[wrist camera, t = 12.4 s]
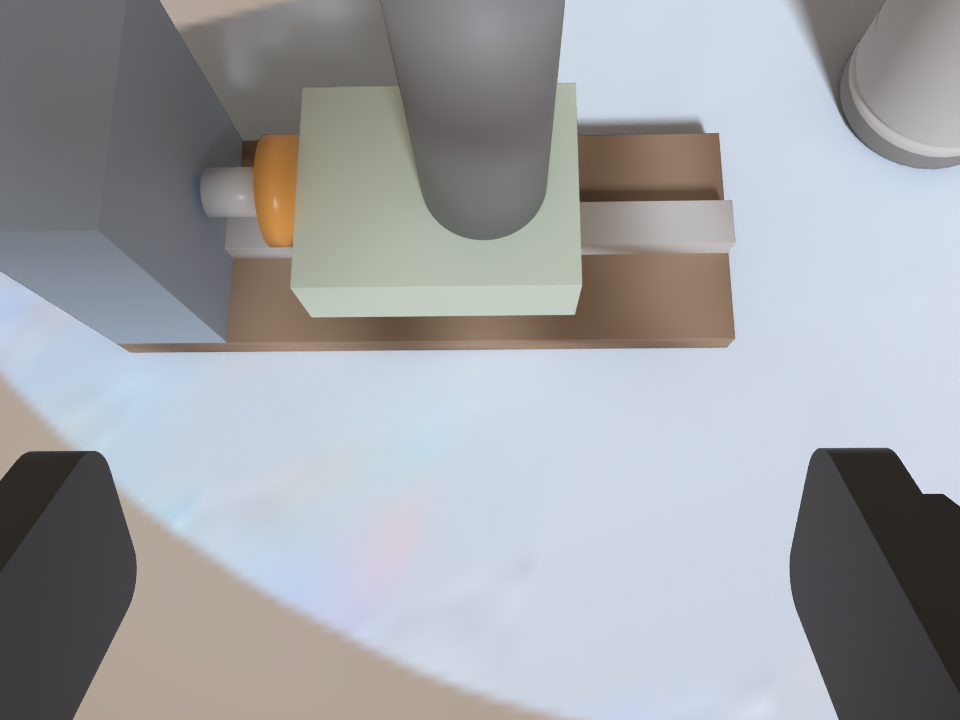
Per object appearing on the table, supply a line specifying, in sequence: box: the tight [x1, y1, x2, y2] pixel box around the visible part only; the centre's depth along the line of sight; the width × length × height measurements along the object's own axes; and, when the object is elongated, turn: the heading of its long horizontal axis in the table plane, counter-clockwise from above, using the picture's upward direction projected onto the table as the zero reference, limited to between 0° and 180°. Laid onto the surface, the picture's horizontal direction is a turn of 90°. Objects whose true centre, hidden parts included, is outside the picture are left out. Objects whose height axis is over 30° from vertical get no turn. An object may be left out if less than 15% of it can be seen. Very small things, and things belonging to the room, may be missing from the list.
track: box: [118, 133, 735, 353], centre depth 32 cm, size 22×8×2 cm, turn 90°
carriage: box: [290, 0, 582, 317], centre depth 24 cm, size 9×7×13 cm
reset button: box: [200, 134, 299, 248], centre depth 28 cm, size 3×4×4 cm
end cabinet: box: [0, 0, 243, 344], centre depth 27 cm, size 4×8×10 cm, turn 0°
